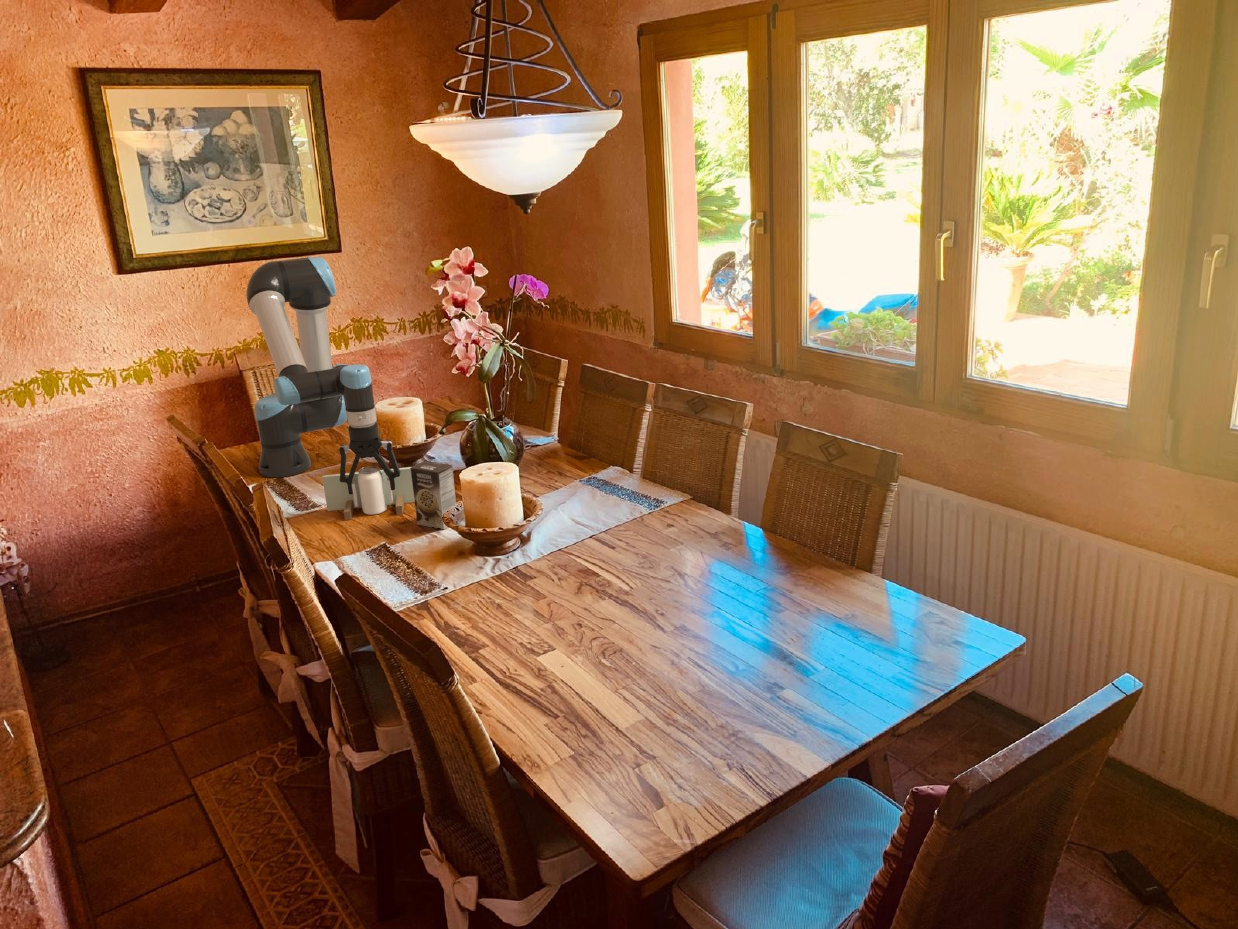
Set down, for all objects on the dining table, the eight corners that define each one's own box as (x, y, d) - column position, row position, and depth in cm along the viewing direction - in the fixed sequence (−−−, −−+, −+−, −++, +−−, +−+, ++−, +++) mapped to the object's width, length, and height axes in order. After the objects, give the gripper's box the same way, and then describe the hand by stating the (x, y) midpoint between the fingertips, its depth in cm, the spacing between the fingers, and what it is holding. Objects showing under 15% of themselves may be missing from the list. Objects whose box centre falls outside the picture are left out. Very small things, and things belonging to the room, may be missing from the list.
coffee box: (416, 525, 242) (408, 467, 236) (431, 515, 247) (424, 459, 241) (444, 530, 238) (437, 472, 232) (459, 521, 243) (452, 463, 237)
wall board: (328, 509, 254) (322, 475, 251) (423, 499, 258) (419, 466, 254) (324, 522, 246) (318, 487, 242) (423, 512, 249) (418, 477, 246)
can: (373, 517, 248) (367, 475, 243) (358, 512, 251) (351, 471, 247) (392, 509, 252) (386, 468, 248) (376, 504, 256) (370, 463, 252)
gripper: (319, 431, 238) (332, 512, 246) (402, 424, 241) (413, 503, 249) (322, 423, 245) (335, 501, 253) (404, 415, 248) (414, 493, 256)
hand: (374, 502), depth 251 cm, fingers open, 8 cm apart
